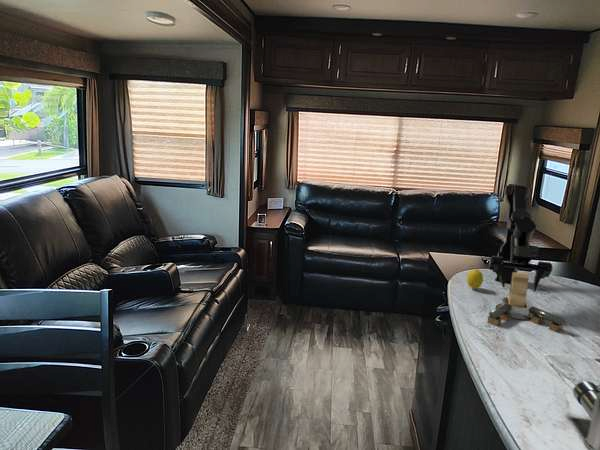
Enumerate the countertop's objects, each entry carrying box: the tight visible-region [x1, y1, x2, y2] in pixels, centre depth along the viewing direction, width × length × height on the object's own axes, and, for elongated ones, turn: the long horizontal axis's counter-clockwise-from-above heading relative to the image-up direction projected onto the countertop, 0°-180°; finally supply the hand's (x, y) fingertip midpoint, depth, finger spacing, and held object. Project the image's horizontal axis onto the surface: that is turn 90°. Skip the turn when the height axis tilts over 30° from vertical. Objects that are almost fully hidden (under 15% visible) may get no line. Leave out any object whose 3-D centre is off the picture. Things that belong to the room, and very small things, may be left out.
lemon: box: [466, 268, 484, 290], centre depth 169 cm, size 6×6×8 cm
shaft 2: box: [529, 305, 565, 333], centre depth 141 cm, size 10×3×4 cm, turn 30°
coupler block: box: [507, 272, 530, 308], centre depth 148 cm, size 5×5×12 cm
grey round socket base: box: [494, 297, 533, 321], centre depth 150 cm, size 12×12×3 cm
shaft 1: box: [486, 304, 512, 327], centre depth 143 cm, size 10×3×4 cm, turn 130°
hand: (519, 288), depth 147 cm, fingers open, 9 cm apart
